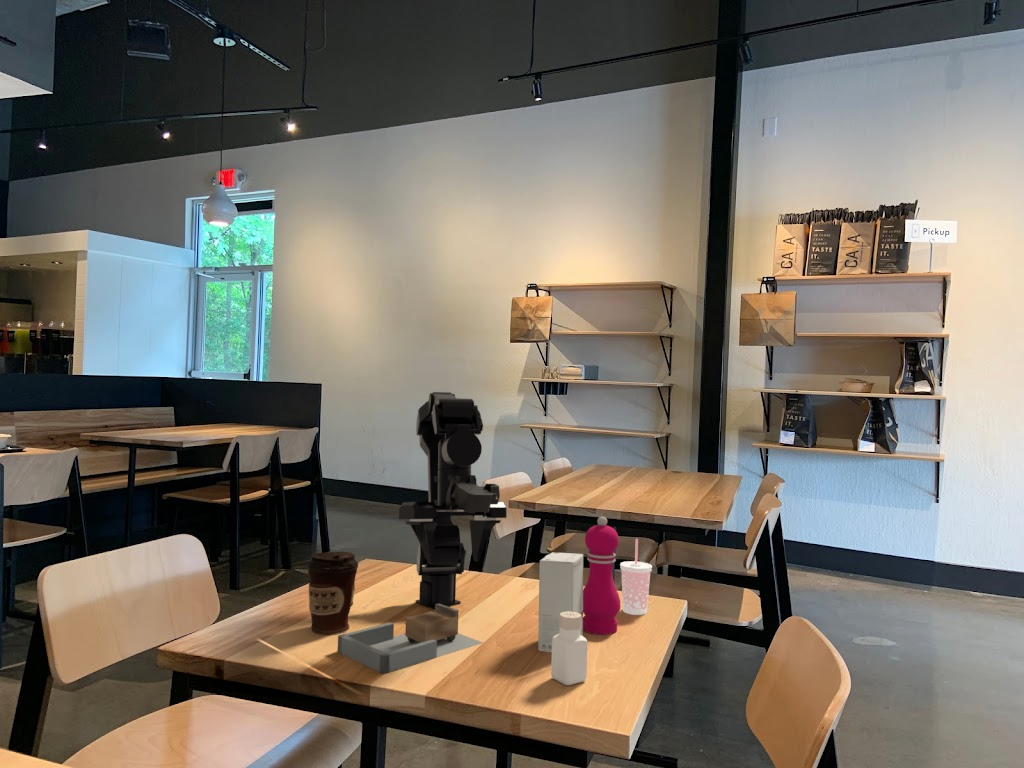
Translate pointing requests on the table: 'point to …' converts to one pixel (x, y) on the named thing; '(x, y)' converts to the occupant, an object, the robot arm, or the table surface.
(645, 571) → the beverage cup
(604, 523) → the pepper mill
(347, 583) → the coffee cup
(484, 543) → the robot arm
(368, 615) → the table surface
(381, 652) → the dock
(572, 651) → the salt shaker
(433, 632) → the block
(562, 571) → the skincare box
